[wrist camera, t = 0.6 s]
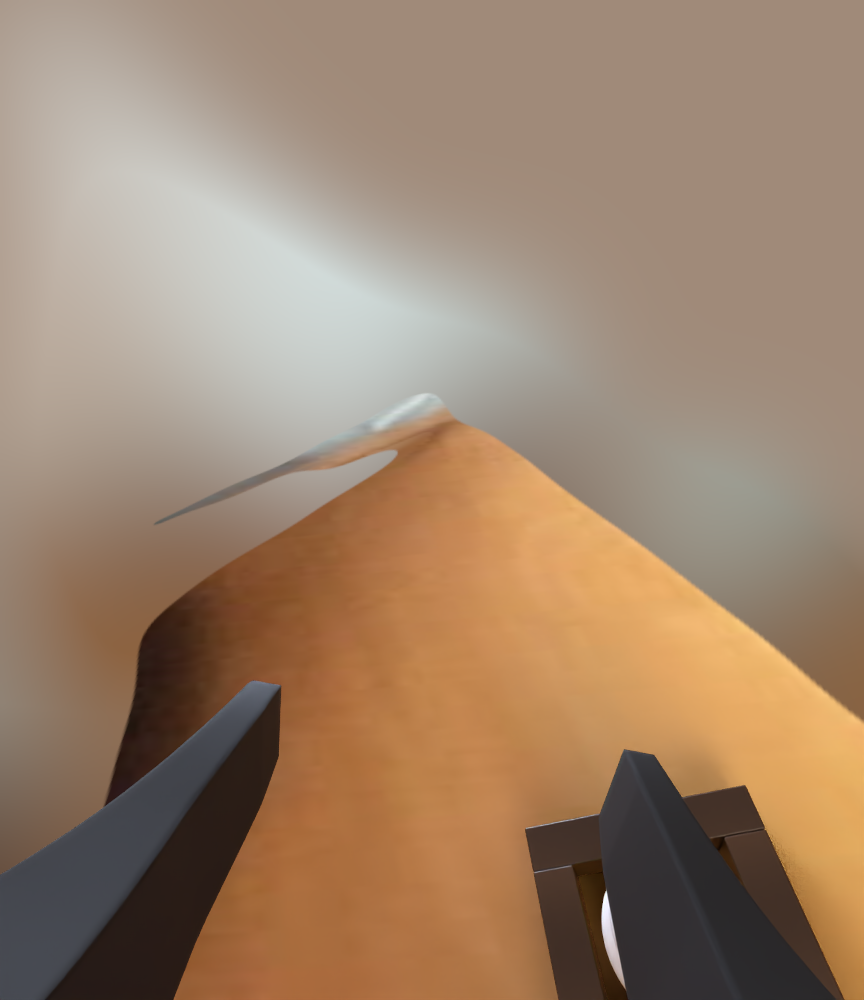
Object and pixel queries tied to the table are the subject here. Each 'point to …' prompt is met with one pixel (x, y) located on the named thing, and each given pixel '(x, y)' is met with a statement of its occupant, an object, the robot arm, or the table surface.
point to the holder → (578, 852)
